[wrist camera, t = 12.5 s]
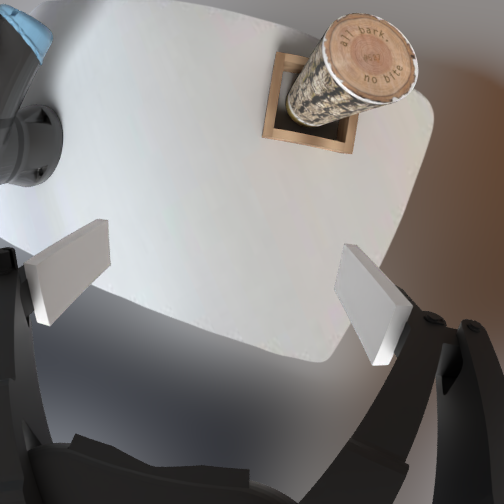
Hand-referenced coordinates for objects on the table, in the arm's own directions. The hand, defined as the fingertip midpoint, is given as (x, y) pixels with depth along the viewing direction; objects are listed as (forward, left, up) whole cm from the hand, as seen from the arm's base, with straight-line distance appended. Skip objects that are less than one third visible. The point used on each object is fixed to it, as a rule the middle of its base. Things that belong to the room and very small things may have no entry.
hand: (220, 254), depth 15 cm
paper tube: (+7, +14, -28) cm, 32 cm away
